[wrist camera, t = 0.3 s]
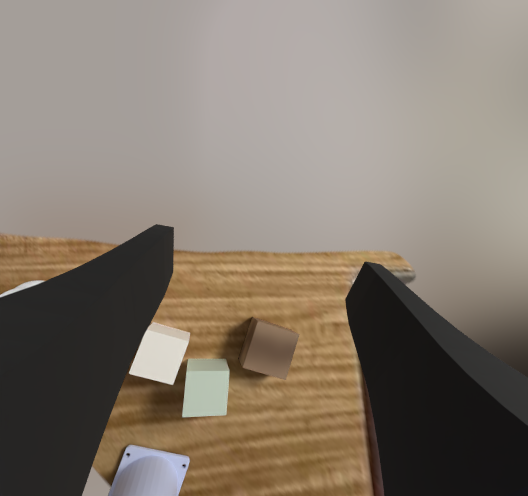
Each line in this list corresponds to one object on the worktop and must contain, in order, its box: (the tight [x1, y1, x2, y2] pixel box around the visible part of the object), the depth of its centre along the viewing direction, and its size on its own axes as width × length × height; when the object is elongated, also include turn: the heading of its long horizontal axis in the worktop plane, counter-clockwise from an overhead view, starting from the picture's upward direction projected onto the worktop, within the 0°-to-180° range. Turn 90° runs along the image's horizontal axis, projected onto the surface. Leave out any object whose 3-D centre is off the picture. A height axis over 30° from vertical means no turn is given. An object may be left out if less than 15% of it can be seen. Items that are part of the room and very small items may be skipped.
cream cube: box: [129, 322, 190, 385], centre depth 33 cm, size 5×5×5 cm
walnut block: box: [238, 317, 299, 380], centre depth 37 cm, size 6×6×4 cm
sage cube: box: [182, 359, 230, 417], centre depth 34 cm, size 5×5×5 cm
